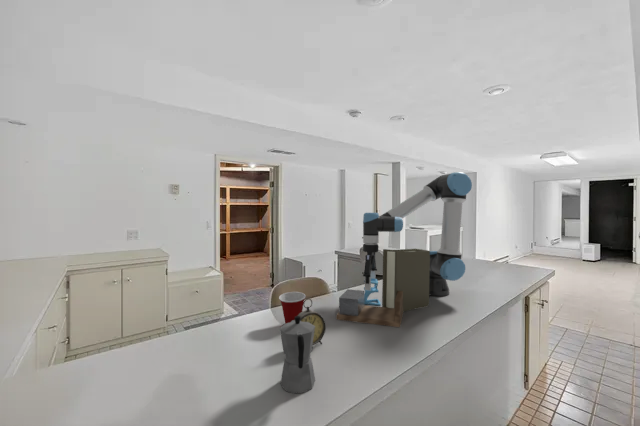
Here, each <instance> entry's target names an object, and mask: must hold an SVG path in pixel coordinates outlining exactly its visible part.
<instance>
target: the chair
mask: <svg viewBox="0 0 640 426" xmlns="http://www.w3.org/2000/svg"><path fill="white" fill-rule="evenodd" d="M363 282H364V283H365V280H363ZM371 285H374V286H373V287H371V291H369V290H365V286H364V287H363V289H364V290H363V291H364V304H365V305H368V306H377V307H381V306H382V303H381V301H380V300H379V299H378V298H374V299H373V298H372V299H368V298H369V296H370V295H371V294H374V293H379V289H378V285H379V281H378V279H377V278H375V279H371Z"/></svg>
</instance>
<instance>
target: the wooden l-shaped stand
mask: <svg viewBox="0 0 640 426" xmlns="http://www.w3.org/2000/svg"><path fill="white" fill-rule="evenodd" d="M403 314H404V312H403V291H398V293H397V296H396V299H395V309H394V308H386V307H382V306H377V305H367V304H365V306H364V308H363V309H362V311H361V312H360V314H359V315H358V316H350V315H342V314H339V311H338V312H337V314H336V318H335V319H336V321H337V320H339V321H344V322H345V321H346V322H353V323H354V322H355V323H362V324H369V325H370V324H371V325H379V326H386V327H387V326H388V327H396V328H401V324H402V320H403V317H404V316H403Z"/></svg>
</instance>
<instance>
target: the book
mask: <svg viewBox="0 0 640 426" xmlns="http://www.w3.org/2000/svg"><path fill="white" fill-rule="evenodd" d="M430 251H431V250H428V249H422V248H405V249H385V248H384V249H382V291H381V292H382V294H381V297H382V299H381V300H382V301H381V307H386V308H394V309H395V299H396V296H397V293H398V291H403V313H404V312H408V311H413V310H417V309H422V308H427V307H429V306H430V295H429V271H430Z"/></svg>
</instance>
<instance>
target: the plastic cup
mask: <svg viewBox="0 0 640 426" xmlns="http://www.w3.org/2000/svg"><path fill="white" fill-rule="evenodd" d="M306 297H307V296H306V294H305V293H303V292H300V291H290V292H284V293H282V294H280V295H279V297H278V299H279V301H280V305H281V307H282V309H281V310H282V312H283V314H282V315H283V318H284V324H286V323H290V322H291V321H292V320H295V318H294V317H295V316H297V315H298V314H299V313H301V312H303V311H304V310H303V309H304V305H305V303H304V301H305V300H306ZM303 304H304V305H303Z"/></svg>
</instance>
